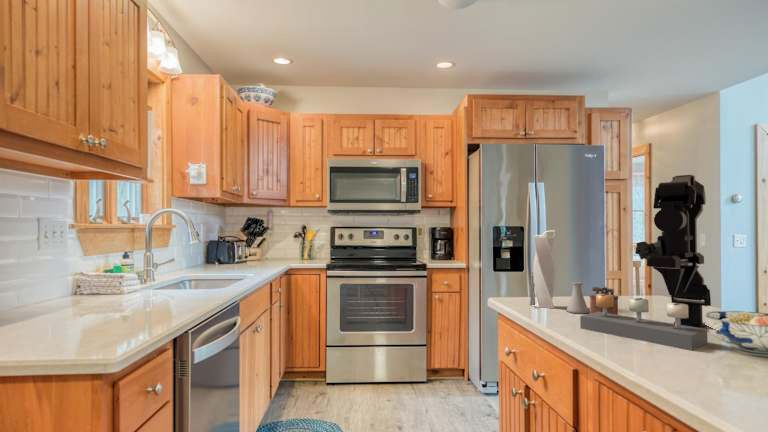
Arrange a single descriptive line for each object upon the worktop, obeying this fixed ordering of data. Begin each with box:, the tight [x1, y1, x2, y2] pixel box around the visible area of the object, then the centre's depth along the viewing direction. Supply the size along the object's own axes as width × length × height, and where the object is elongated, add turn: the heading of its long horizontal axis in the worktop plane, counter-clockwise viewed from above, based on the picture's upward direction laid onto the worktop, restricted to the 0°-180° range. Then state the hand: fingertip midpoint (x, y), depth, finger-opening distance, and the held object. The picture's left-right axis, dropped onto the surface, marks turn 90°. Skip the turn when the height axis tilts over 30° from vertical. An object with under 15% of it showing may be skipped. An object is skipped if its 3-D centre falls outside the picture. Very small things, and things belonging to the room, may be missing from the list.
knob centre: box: [628, 297, 650, 323], centre depth 112 cm, size 4×4×7 cm
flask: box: [566, 281, 590, 314], centre depth 143 cm, size 7×7×10 cm
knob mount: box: [579, 312, 709, 351], centre depth 112 cm, size 10×27×4 cm, turn 35°
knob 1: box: [595, 293, 614, 317], centre depth 119 cm, size 4×4×7 cm
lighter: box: [589, 286, 619, 315], centre depth 132 cm, size 8×3×10 cm, turn 58°
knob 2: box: [666, 302, 689, 330], centre depth 105 cm, size 4×4×7 cm
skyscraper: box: [529, 229, 556, 310], centre depth 152 cm, size 8×8×28 cm
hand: (676, 294), depth 105 cm, fingers open, 5 cm apart
